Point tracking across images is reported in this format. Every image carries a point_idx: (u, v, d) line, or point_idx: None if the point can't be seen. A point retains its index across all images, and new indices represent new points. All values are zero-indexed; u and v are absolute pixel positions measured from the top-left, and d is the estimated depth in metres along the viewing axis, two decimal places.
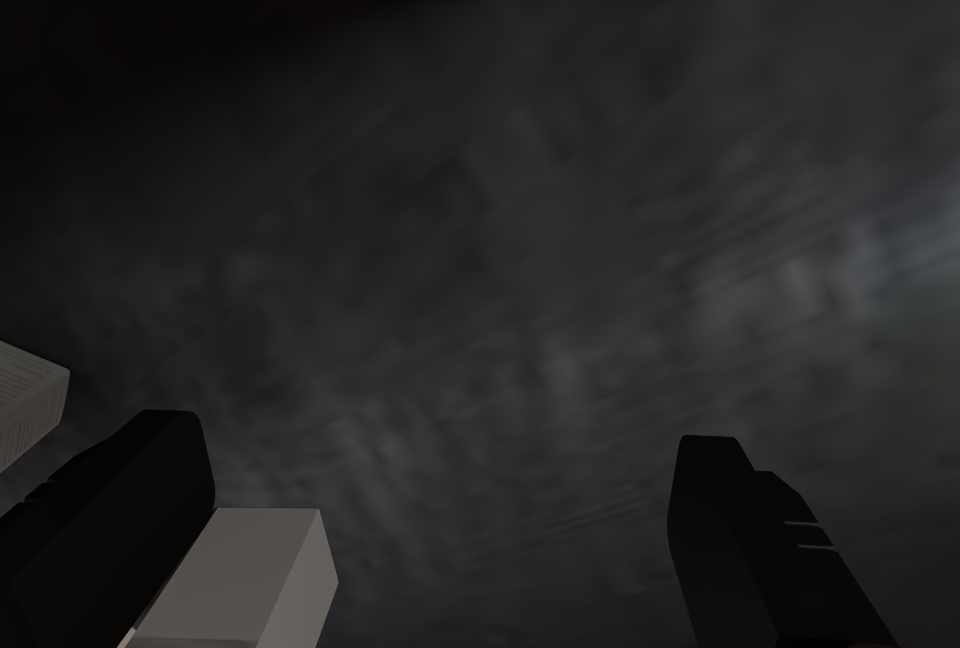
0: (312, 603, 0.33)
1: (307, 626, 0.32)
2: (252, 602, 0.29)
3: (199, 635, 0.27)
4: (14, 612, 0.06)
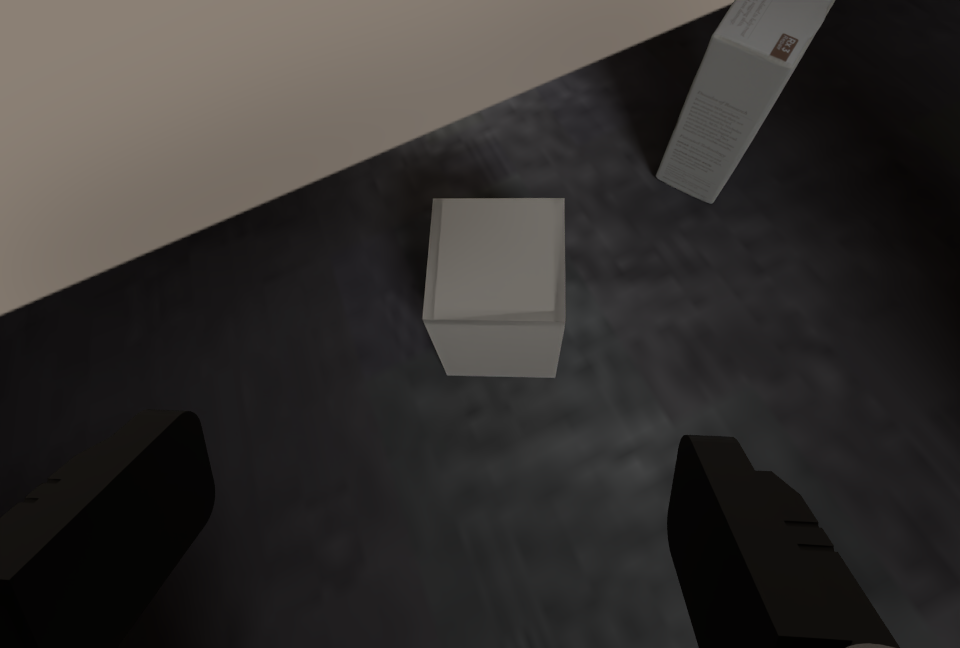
0: (484, 358, 0.31)
1: (474, 351, 0.30)
2: None
3: None
4: (14, 612, 0.06)
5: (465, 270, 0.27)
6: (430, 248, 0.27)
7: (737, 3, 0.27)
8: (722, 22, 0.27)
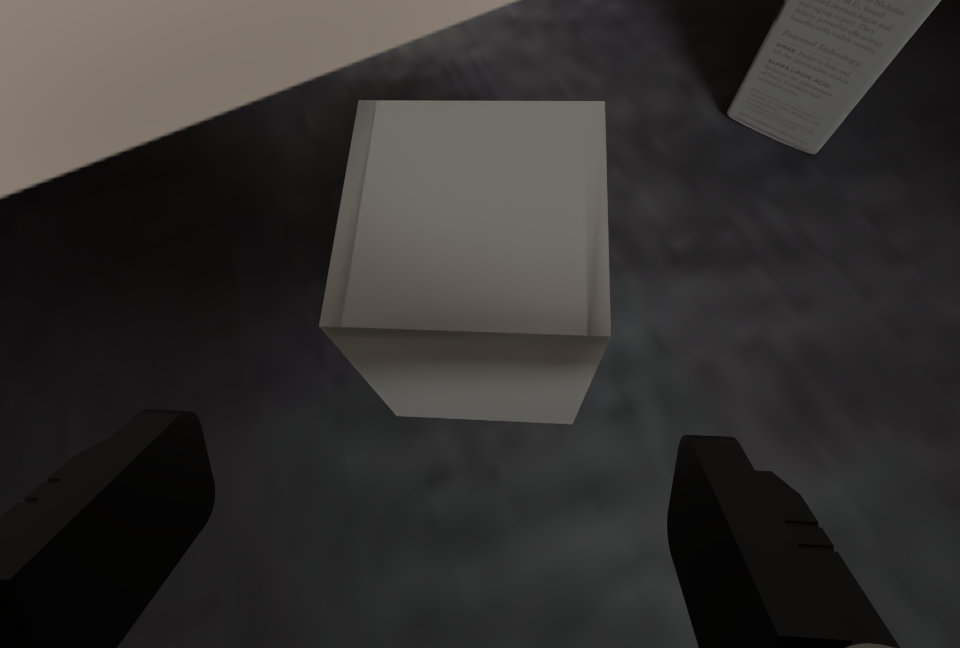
0: (454, 394, 0.18)
1: (434, 384, 0.17)
2: None
3: None
4: (14, 612, 0.06)
5: (411, 231, 0.14)
6: (346, 189, 0.14)
7: None
8: None
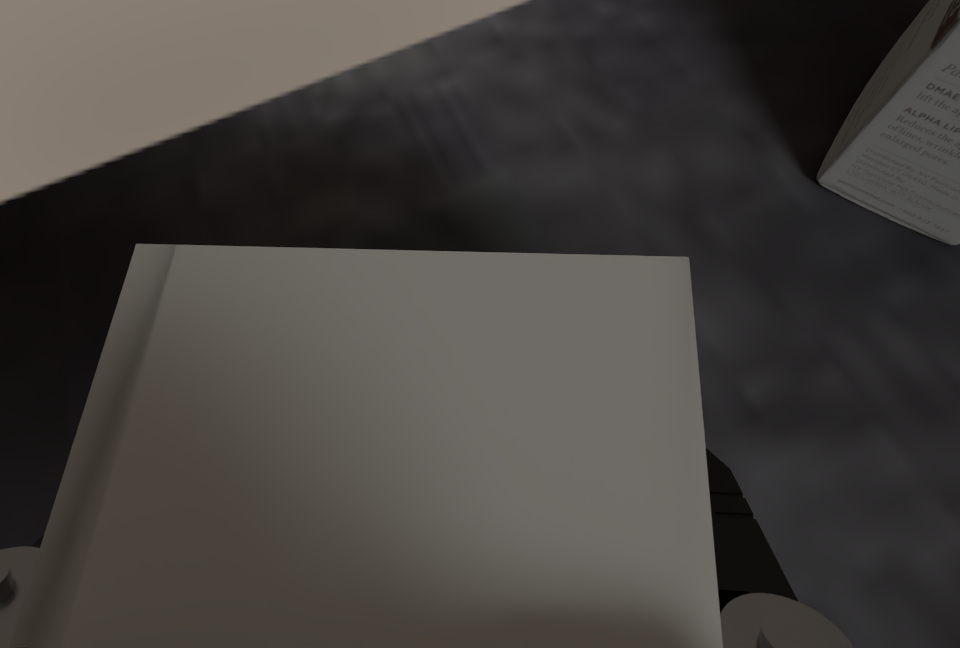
0: None
1: None
2: None
3: None
4: None
5: (207, 626, 0.05)
6: (68, 486, 0.06)
7: None
8: None
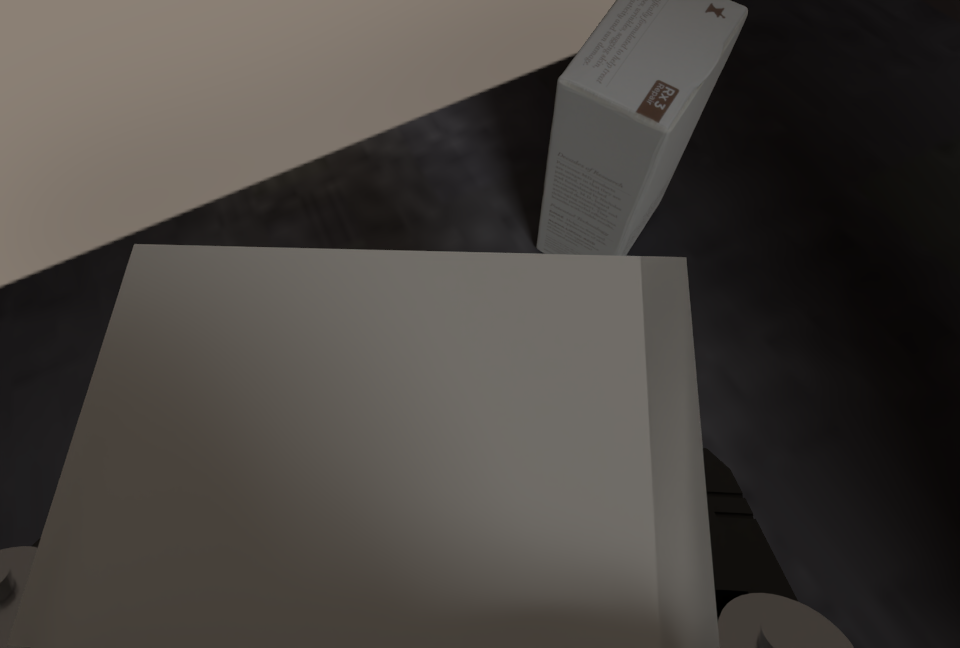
0: None
1: None
2: None
3: None
4: None
5: (205, 626, 0.05)
6: (66, 486, 0.06)
7: (597, 33, 0.19)
8: (573, 61, 0.19)
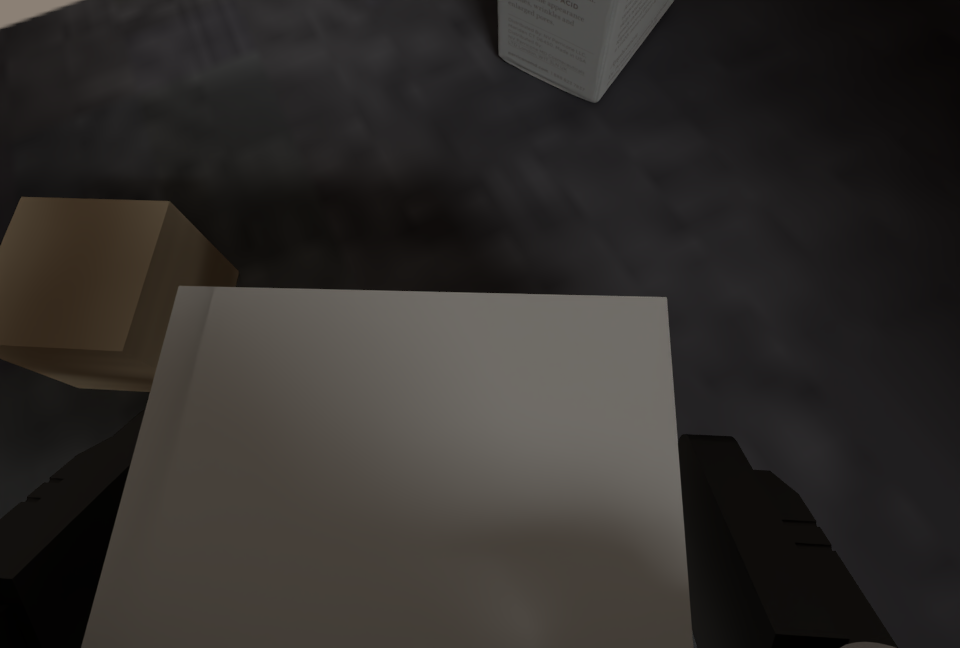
0: None
1: None
2: None
3: None
4: (17, 611, 0.06)
5: (253, 623, 0.06)
6: (128, 502, 0.07)
7: None
8: None
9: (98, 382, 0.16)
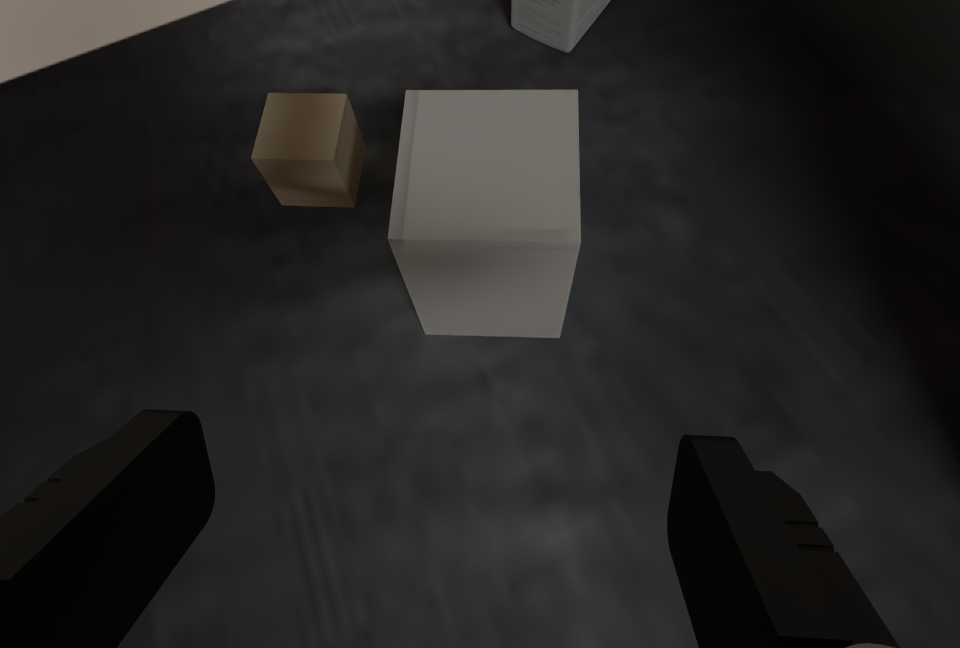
0: (472, 307, 0.24)
1: (459, 295, 0.23)
2: None
3: None
4: (14, 612, 0.06)
5: (446, 177, 0.20)
6: (400, 150, 0.21)
7: None
8: None
9: (299, 196, 0.30)
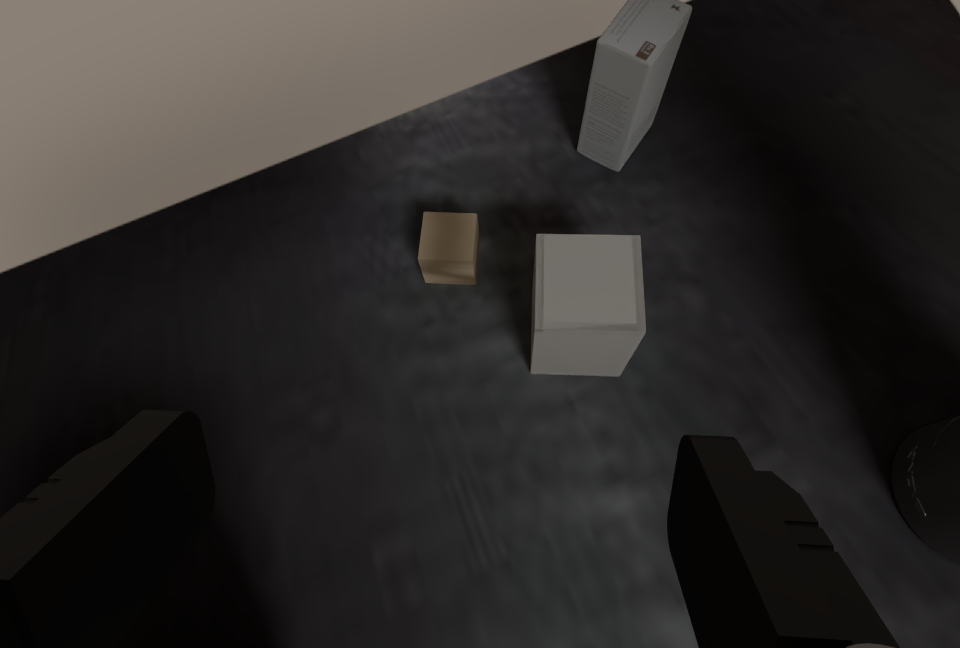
0: (568, 359, 0.39)
1: (563, 354, 0.38)
2: None
3: None
4: (14, 612, 0.06)
5: (566, 291, 0.34)
6: (537, 273, 0.35)
7: (616, 18, 0.38)
8: (605, 32, 0.38)
9: (439, 278, 0.44)
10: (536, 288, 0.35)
